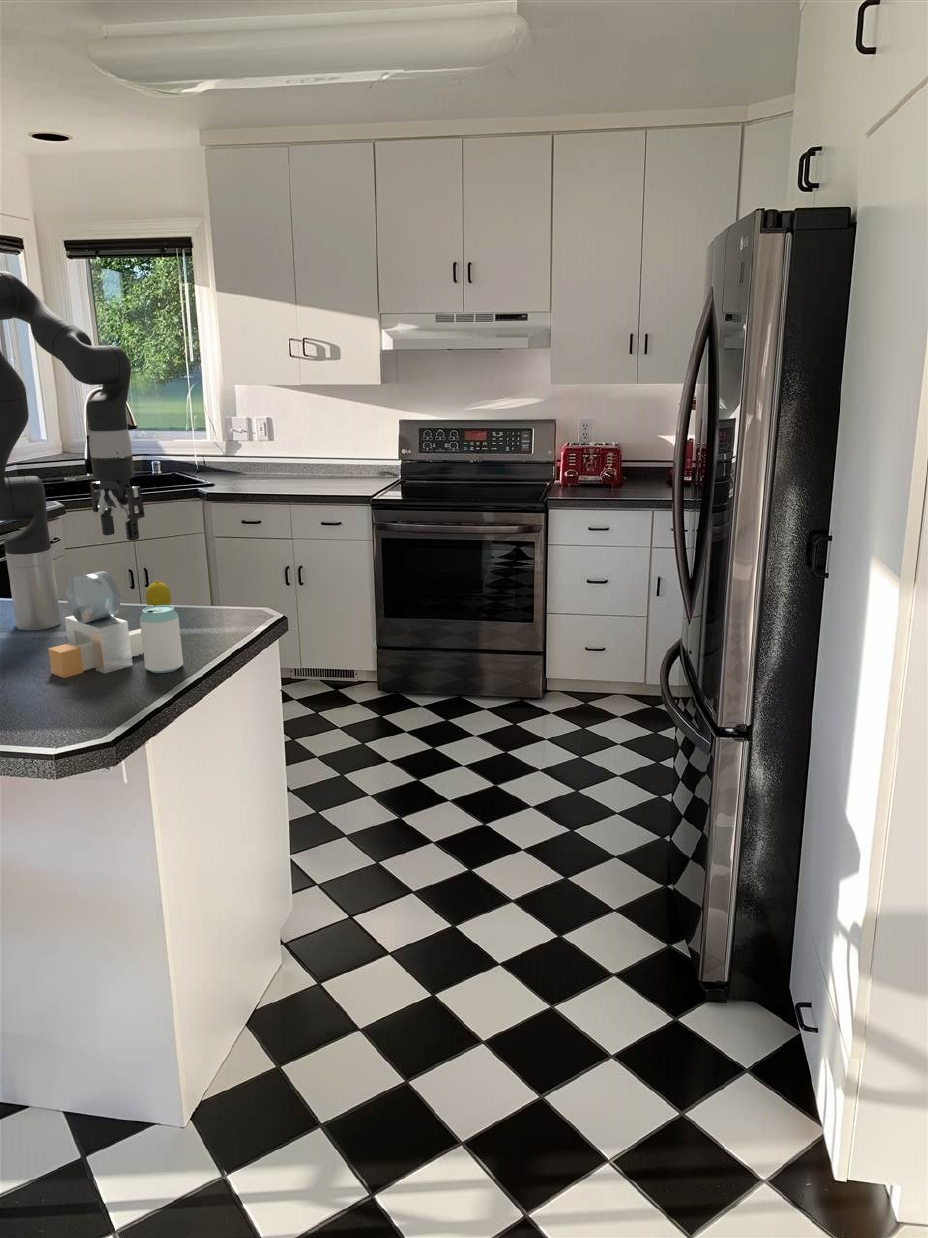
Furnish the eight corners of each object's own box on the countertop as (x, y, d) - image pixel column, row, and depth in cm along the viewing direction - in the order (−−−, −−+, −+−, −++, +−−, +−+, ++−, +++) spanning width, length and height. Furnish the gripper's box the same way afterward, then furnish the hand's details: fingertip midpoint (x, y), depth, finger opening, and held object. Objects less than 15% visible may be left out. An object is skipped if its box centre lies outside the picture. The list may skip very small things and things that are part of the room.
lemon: (165, 617, 222) (161, 583, 219) (143, 616, 223) (139, 583, 220) (176, 611, 227) (173, 578, 225) (155, 610, 228) (151, 577, 226)
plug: (51, 673, 185) (48, 648, 184) (141, 648, 200) (138, 625, 198) (63, 678, 183) (60, 652, 181) (153, 652, 197) (151, 628, 196)
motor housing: (70, 661, 192) (58, 572, 187) (98, 653, 197) (87, 567, 192) (104, 673, 185) (93, 582, 180) (132, 665, 189) (122, 575, 184)
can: (169, 676, 183) (162, 614, 179) (137, 672, 185) (130, 612, 182) (190, 664, 189) (184, 605, 186) (160, 661, 191) (153, 602, 188)
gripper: (73, 453, 186) (83, 536, 191) (114, 458, 178) (124, 544, 182) (108, 449, 192) (117, 530, 196) (150, 454, 183) (158, 538, 188)
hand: (121, 537), depth 189 cm, fingers open, 8 cm apart
